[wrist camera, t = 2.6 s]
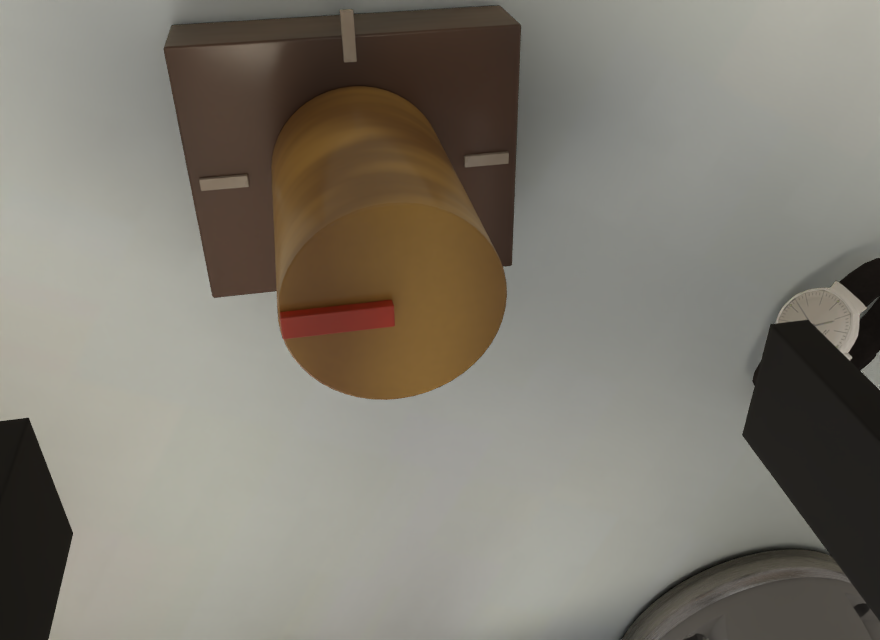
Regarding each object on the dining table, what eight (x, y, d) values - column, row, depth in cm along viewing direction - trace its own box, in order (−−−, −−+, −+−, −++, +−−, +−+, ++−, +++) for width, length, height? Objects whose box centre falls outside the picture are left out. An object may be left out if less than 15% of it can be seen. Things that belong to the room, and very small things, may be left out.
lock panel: (501, -20, 25) (524, -1, 23) (494, 249, 30) (512, 286, 28) (166, -1, 24) (156, 21, 22) (218, 278, 29) (215, 319, 27)
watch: (852, 226, 33) (909, 272, 30) (918, 277, 35) (977, 324, 32) (718, 363, 36) (757, 416, 33) (785, 402, 38) (828, 456, 35)
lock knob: (440, 79, 24) (515, 198, 17) (443, 237, 27) (507, 393, 20) (260, 92, 23) (262, 222, 16) (282, 253, 26) (292, 421, 19)
